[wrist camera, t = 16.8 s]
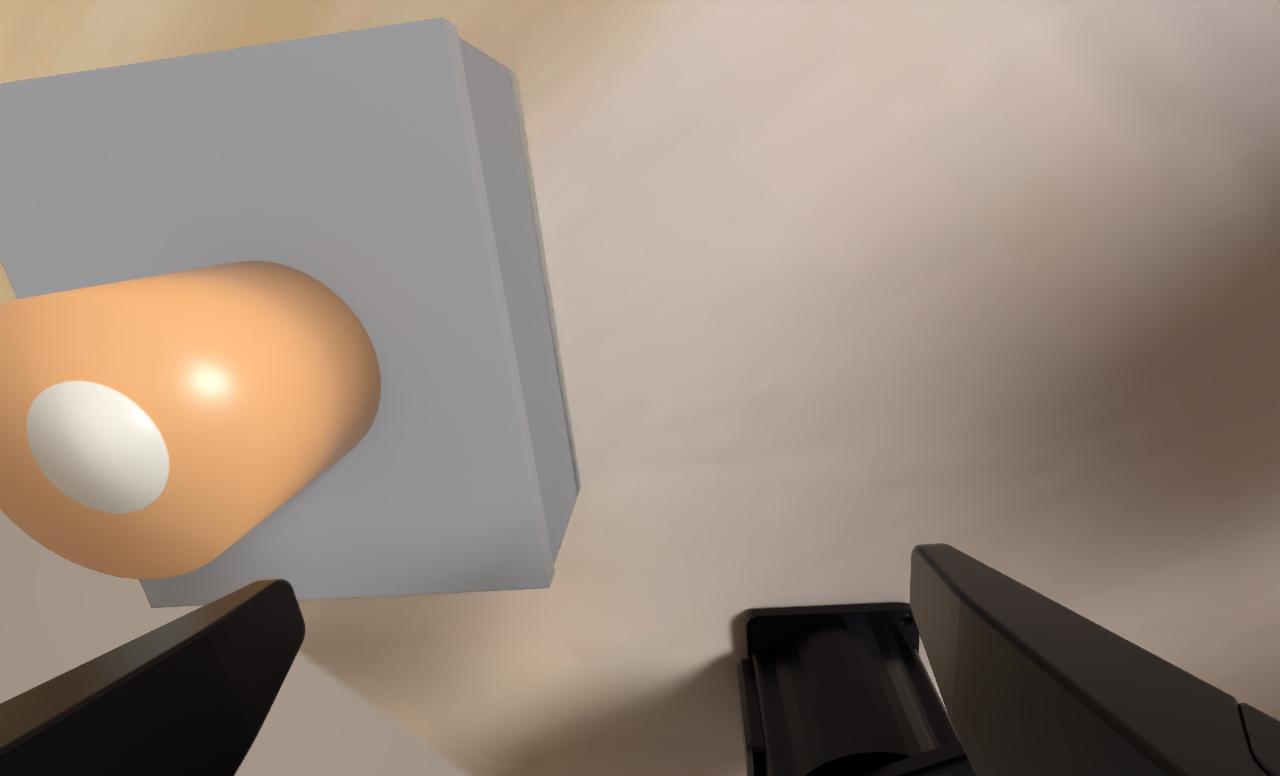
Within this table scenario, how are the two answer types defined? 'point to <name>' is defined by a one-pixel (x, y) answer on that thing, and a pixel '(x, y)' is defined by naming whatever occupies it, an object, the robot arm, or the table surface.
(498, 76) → the carton
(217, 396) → the orange round cylinder
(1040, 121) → the table surface
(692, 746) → the table surface
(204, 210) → the lid
